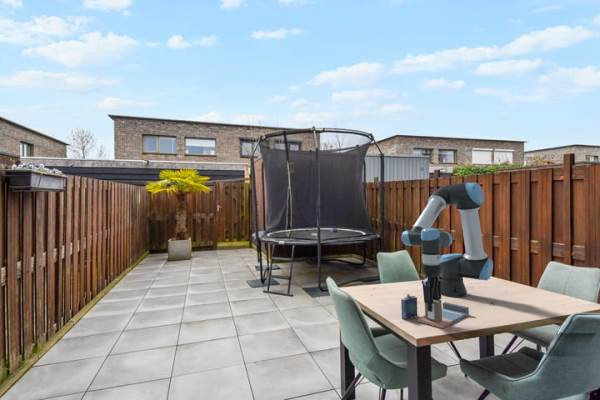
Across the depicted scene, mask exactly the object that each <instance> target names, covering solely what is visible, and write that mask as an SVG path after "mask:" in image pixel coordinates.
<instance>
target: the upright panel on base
mask: <svg viewBox="0 0 600 400" xmlns="http://www.w3.org/2000/svg"><path fill="white" fill-rule="evenodd" d="M433 304H434V310H435V319H434V320H433V319H430V318H428V305H427V303H425V302H424V315H423V316H420V317H418V318H417V322H418V323H421V324H422V323H423V324H425V325H428V324H429V326H432V327H435V326H436V328H440V329H444V328H446V327H448V326H450V325H452V324H453V323H452V320H449V319H445V318H442V308H443V304H442V300H441V301H438V300H433Z"/></svg>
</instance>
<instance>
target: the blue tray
mask: <svg viewBox="0 0 600 400" xmlns="http://www.w3.org/2000/svg"><path fill="white" fill-rule="evenodd" d="M469 310H470V308H469V307H468V306H465V305H459V304H455V303H452V302H451V303H450V302H446V301H444V302H443V303H442V318H445V319H449V320H452V324H455V323H457V322H458V321H460V320H462V319H465V318H466V317H468V316H470V311H469Z"/></svg>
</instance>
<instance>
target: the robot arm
mask: <svg viewBox="0 0 600 400" xmlns="http://www.w3.org/2000/svg"><path fill="white" fill-rule="evenodd" d="M427 202H428V203H427V205H426V206H425V207H424V209H423V211H422V212H421V214H420V215H419V217H418V218H417V220H416V221H415V223H414V225H413V226H412V228H411V229H409V230H404V231H403V232H402V234H401V242H402V244H404V245H405V246H408V247H409V246H411V247H421V263H422V265H421V266H422V273H424V274H425V276H424V280H421V283H422V292H423V294H422V295H423V302H424V304H425V303H427V305H428V318H430V319H433V320H434V319H435V310H434V304H433V300H438V301H441V302H442V296H445V297H452V298H463V297H464V298H465V297H467V296H468V291H467V287H466V286H465V282H464V278H466V279H472V280H479V281H489V279H491V277H492V274H493V269H494V261H493V260H492V259H491V258H489V257H488V254H487V253H486V252H485V251H484V244H483V237H482V229H481V222H480V216H479V215H480V214H479V210H480V208H481V206H482V204H484V202H485V194H484V190H483V187H482V186H481V185H480V184H479V183H477V182H462V183H453V184H452V183H451V184H444V185H442V186H440V187H439V188H438V189H436V190H435V191H434V192H433V193H432V194H431V195H430V196H429V198H428V200H427ZM447 206H455V207H456V210H457V211H459V213H460V215H459V216H460V220H461V228H462V234H463V242H464V247H465V253H464V254H462V253H447V254H442V255H441V249H445V248H448V247H449V246H451V245H452V243H453V236H452V234H451V233H449V232H448V231H444V230H441V231H440V229H438V228H433V227H432V226H433V224H434V223H435V221H436V219H437V218H438V217H439V214H441V211H442V210H444V209H445V208H446V207H447ZM439 274H440V275H439Z"/></svg>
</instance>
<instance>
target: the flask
mask: <svg viewBox="0 0 600 400" xmlns="http://www.w3.org/2000/svg"><path fill="white" fill-rule="evenodd" d="M400 302H401V303H400V305H401V308H400V309H401V319H402V320H408V318H409V319H412V318H416V317H415V316H417V317H418V297H417V296H415V295H411V294H410V293H406V297H404V298H401V299H400ZM411 317H412V318H411Z"/></svg>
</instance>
